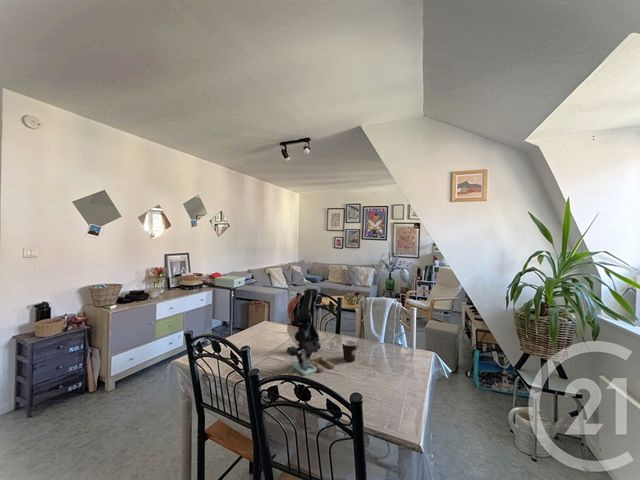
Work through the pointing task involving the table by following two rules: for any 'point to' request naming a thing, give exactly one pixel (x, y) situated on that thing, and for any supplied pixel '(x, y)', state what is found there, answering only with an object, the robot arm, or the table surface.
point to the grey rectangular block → (305, 361)
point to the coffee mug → (349, 350)
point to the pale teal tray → (303, 371)
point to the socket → (322, 360)
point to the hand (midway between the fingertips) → (303, 363)
